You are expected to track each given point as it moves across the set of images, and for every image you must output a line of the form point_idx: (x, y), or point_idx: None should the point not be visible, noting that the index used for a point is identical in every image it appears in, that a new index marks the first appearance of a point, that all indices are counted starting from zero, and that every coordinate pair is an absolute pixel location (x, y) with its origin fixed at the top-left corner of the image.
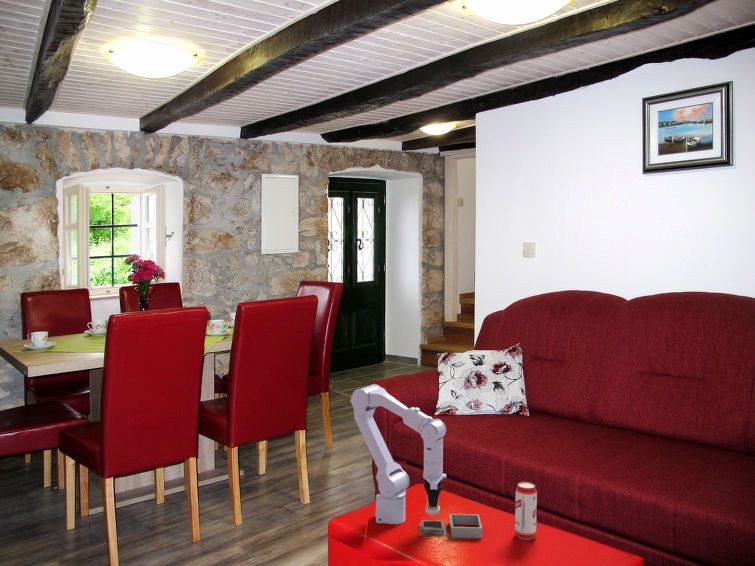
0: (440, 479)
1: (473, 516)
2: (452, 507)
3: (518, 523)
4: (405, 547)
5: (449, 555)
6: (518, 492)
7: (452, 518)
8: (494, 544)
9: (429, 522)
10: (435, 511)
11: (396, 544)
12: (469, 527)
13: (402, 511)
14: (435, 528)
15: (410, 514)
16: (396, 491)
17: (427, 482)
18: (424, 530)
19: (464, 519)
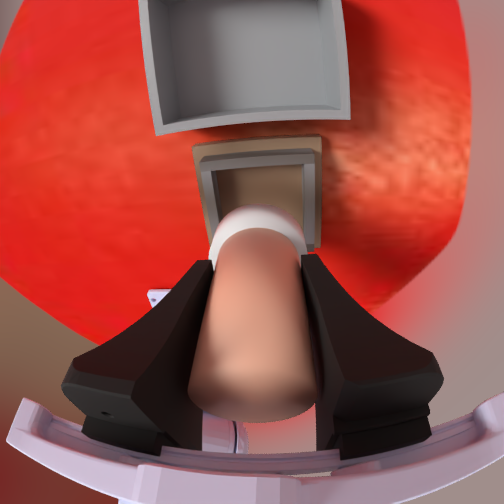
0: (411, 482)
1: (150, 11)
2: (23, 148)
3: None
4: (383, 277)
5: (449, 138)
6: None
7: (169, 116)
8: None
9: (220, 221)
10: (302, 239)
11: (360, 301)
12: (337, 22)
13: None
14: (245, 187)
15: (121, 276)
16: (227, 430)
17: (196, 427)
18: (313, 238)
19: (161, 55)
